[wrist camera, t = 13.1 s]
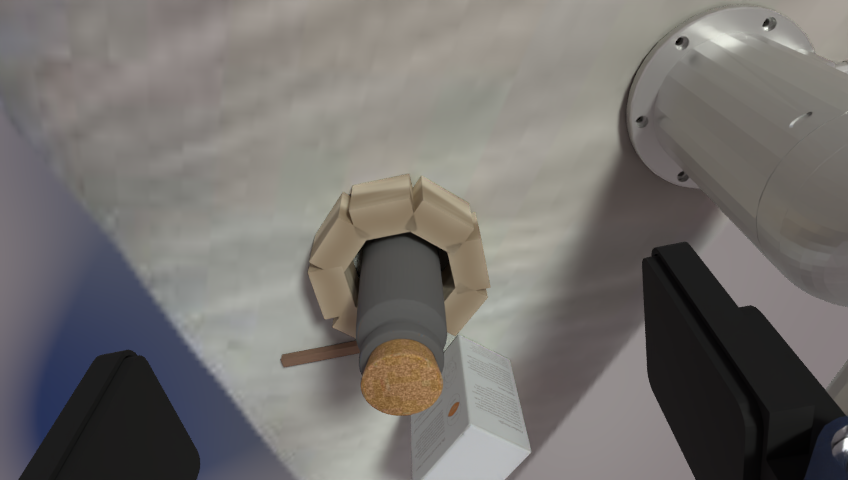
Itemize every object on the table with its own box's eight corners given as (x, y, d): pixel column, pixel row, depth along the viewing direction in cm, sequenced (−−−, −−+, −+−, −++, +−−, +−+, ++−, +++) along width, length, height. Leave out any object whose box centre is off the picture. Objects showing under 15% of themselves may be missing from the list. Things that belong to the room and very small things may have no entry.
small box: (460, 416, 58) (471, 517, 49) (408, 393, 57) (409, 492, 48) (512, 358, 55) (534, 454, 46) (458, 331, 54) (470, 425, 44)
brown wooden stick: (397, 332, 53) (397, 338, 53) (399, 340, 54) (399, 345, 53) (282, 354, 54) (281, 360, 53) (285, 361, 54) (283, 367, 54)
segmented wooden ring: (465, 161, 46) (470, 185, 42) (492, 301, 52) (499, 331, 49) (297, 196, 47) (289, 222, 43) (343, 329, 53) (339, 361, 50)
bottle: (429, 288, 51) (440, 429, 38) (356, 276, 50) (343, 417, 37) (446, 225, 48) (464, 354, 35) (369, 211, 48) (359, 339, 35)
